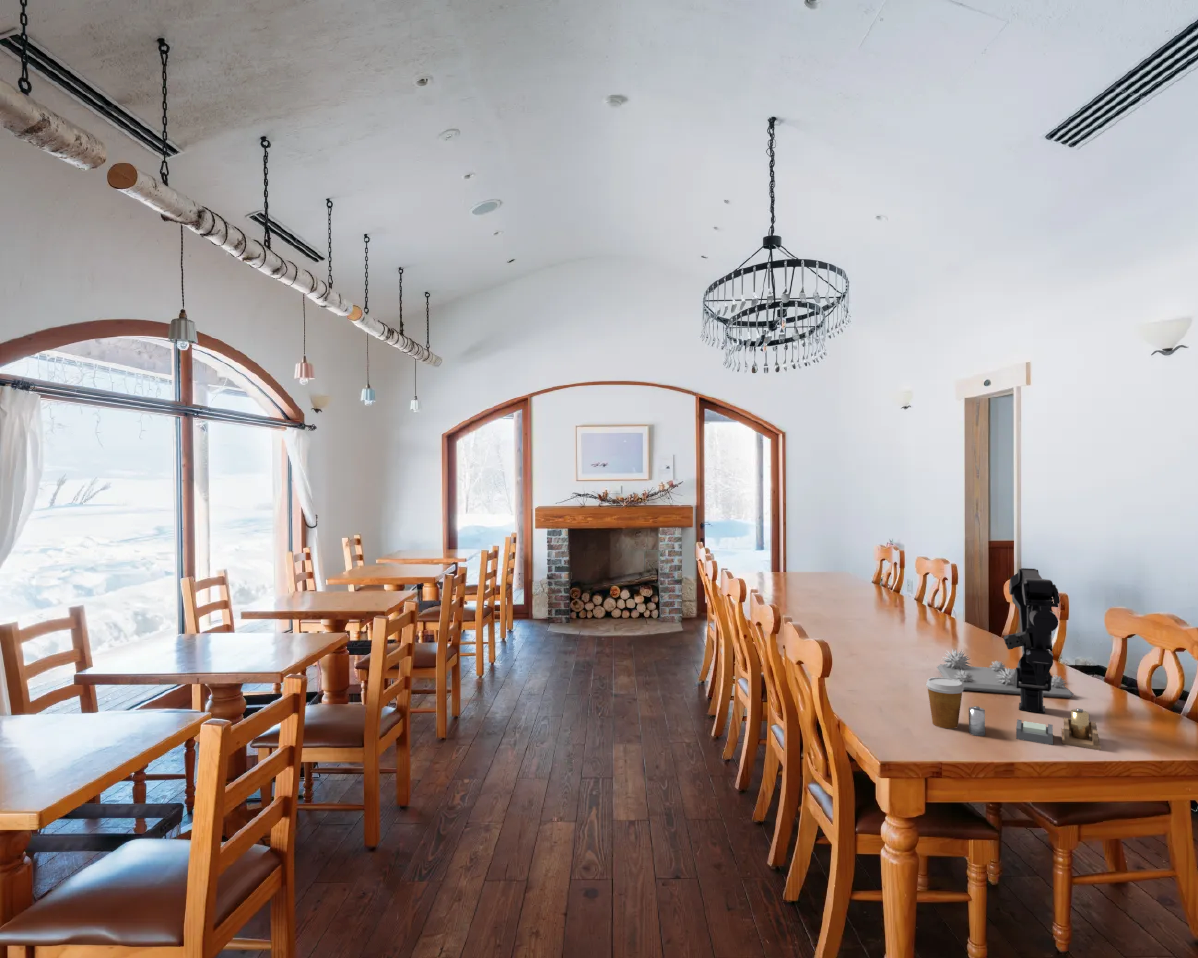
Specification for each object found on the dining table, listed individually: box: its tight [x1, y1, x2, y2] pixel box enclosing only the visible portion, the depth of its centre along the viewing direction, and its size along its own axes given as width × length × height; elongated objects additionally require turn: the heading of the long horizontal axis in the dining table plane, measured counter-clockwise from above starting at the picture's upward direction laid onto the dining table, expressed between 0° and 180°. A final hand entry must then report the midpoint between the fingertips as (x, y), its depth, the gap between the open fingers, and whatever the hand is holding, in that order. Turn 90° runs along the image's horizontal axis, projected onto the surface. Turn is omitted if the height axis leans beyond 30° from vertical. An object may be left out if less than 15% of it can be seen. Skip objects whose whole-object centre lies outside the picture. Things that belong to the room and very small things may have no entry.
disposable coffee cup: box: [925, 676, 965, 730], centre depth 192 cm, size 10×10×12 cm
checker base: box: [1015, 718, 1054, 746], centre depth 182 cm, size 8×8×3 cm
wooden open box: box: [1061, 717, 1102, 751], centre depth 180 cm, size 10×8×4 cm
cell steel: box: [968, 705, 986, 737], centre depth 185 cm, size 4×4×7 cm
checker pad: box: [1022, 720, 1047, 734], centre depth 182 cm, size 5×5×1 cm
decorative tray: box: [936, 648, 1075, 699], centre depth 231 cm, size 35×26×10 cm
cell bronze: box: [1070, 708, 1090, 740], centre depth 180 cm, size 4×4×7 cm
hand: (1039, 681), depth 192 cm, fingers open, 9 cm apart
